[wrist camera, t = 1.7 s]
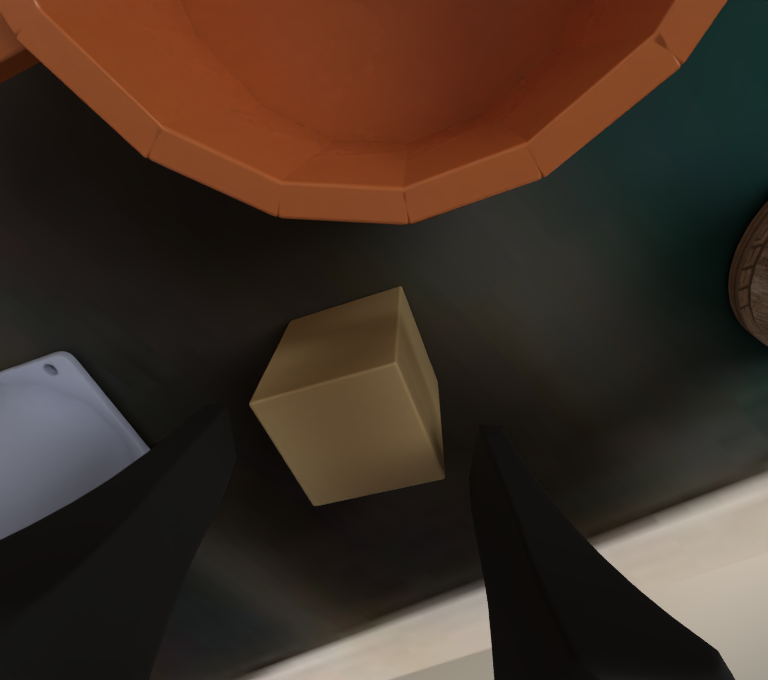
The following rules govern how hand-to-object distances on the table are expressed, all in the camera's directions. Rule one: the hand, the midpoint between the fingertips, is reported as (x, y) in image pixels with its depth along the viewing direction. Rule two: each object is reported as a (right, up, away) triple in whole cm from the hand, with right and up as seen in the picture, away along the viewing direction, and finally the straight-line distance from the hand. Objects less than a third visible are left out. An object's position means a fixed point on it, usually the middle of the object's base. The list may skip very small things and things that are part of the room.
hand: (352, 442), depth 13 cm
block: (0, +2, +4) cm, 5 cm away
